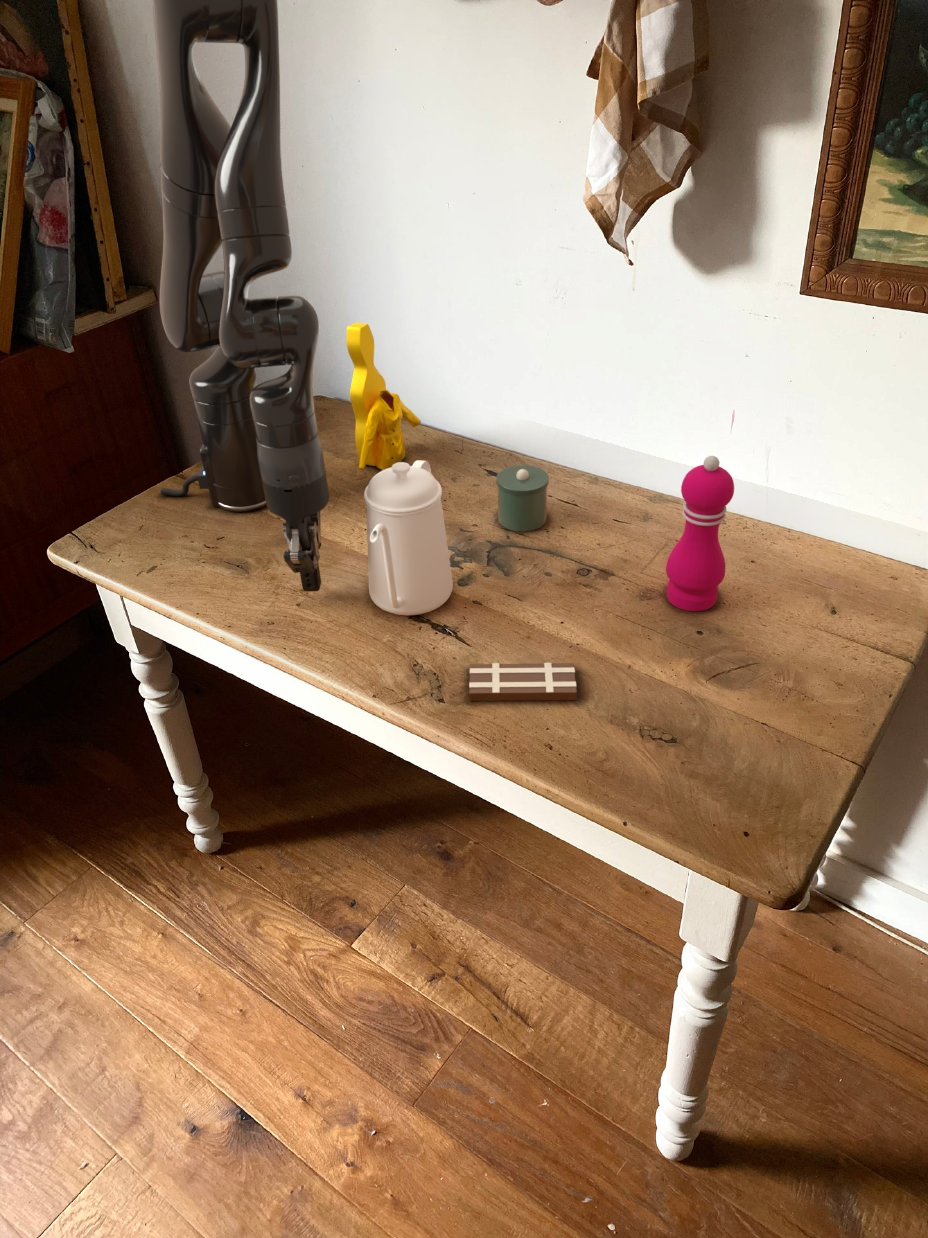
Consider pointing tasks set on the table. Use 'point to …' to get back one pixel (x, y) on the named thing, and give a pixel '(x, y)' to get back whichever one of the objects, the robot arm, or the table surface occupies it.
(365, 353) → the figure statuette
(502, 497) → the canister
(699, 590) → the pepper mill
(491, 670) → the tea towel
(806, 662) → the table surface
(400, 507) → the coffeepot
